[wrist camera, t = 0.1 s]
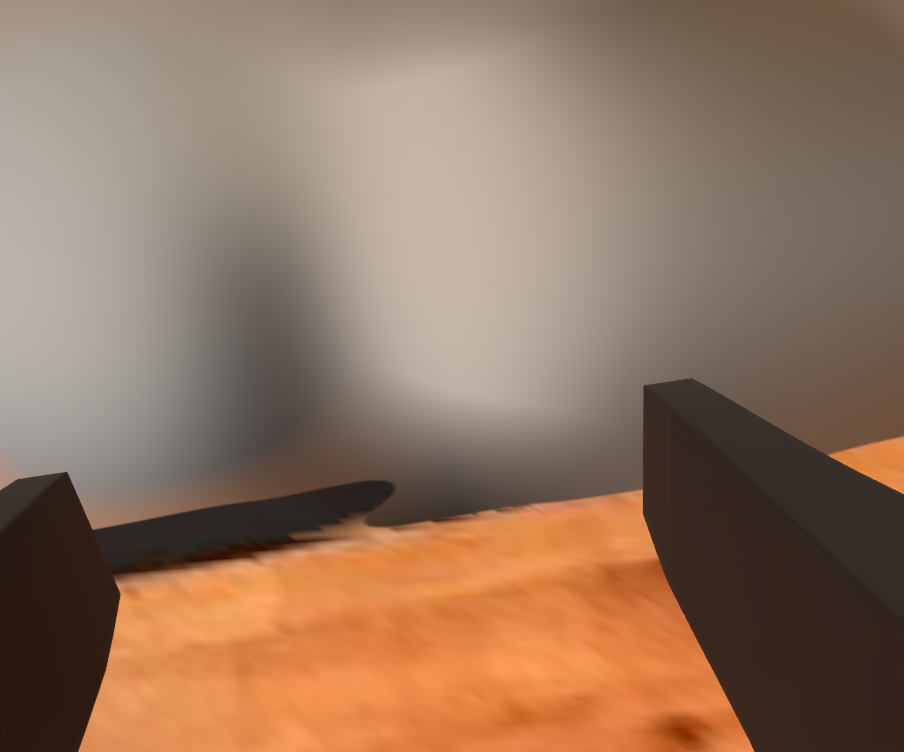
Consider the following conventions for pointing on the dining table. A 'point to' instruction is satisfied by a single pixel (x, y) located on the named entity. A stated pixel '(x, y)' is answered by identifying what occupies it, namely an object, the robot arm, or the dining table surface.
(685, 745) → the dining table surface
